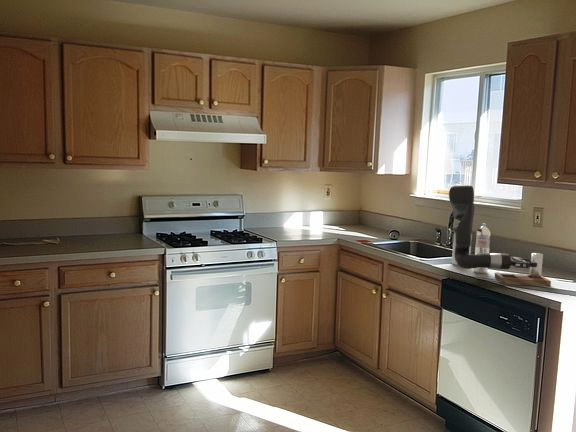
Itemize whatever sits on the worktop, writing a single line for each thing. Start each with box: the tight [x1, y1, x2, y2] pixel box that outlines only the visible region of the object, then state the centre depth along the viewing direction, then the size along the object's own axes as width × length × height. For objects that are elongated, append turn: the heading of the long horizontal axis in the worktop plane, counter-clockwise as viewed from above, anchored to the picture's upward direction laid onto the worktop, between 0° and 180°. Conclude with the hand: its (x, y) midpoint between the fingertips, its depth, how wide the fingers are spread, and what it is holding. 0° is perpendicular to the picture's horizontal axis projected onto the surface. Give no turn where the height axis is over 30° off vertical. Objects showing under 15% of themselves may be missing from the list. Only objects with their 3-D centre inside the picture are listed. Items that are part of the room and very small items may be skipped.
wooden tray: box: [494, 272, 552, 287], centre depth 263 cm, size 12×22×3 cm, turn 85°
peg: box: [528, 252, 544, 279], centre depth 262 cm, size 5×5×14 cm
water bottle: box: [473, 223, 491, 275], centre depth 280 cm, size 7×7×25 cm
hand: (533, 263), depth 262 cm, fingers open, 8 cm apart
